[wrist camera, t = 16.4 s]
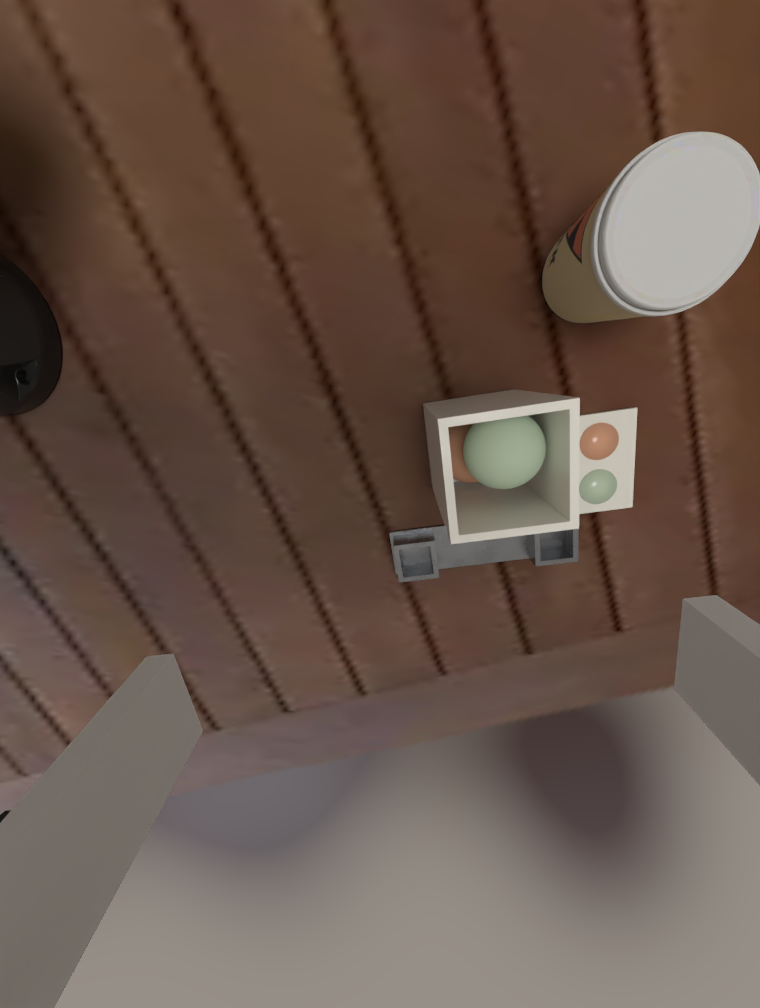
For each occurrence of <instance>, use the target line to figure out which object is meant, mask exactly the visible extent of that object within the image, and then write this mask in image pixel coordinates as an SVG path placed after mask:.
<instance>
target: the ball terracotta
mask: <svg viewBox="0 0 760 1008" xmlns="http://www.w3.org/2000/svg"><path fill="white" fill-rule="evenodd" d="M473 424H474V423H473ZM473 424H467V425H460V426H453V427H448V431H449V441H450V451H451V461H452V472H453V479H455V480H458V481H461V482H465V483H475V482H479V481H477V480H476V479H475V478H474V477H473V476H472V475H471V474H470V472H469V471H468V469H467V467H466V464H465V461H464V457H463V445H464V441H465V438H466V435H467V433H468V431H469V429H470V428H471V427H472V425H473Z"/></svg>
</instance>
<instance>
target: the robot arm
mask: <svg viewBox="0 0 760 1008" xmlns="http://www.w3.org/2000/svg"><path fill="white" fill-rule="evenodd" d="M60 367H61V344H60V338H59V333H58V330H57V326H56V323H55V320H54V318H53V316H52V313H51V311H50V309H49V307H48V305H47V303H46V302H45V300H44V298H43V297H42V295H41V294H40V292H39V291H38V290H37V288H36V287H35V286H34V284H33V283H32V282H31V281H30V280H29V279H28V278H27V277H26V276H25V275H24V274H23V273H22V272H21V271H20V270H19V269H18V268H17V267H16V266H14V265H13V264H12V263H11V262H9V261H8V260H6V259H5V258H3V257H2V256H0V416H5V415H14V414H20V413H23V412H27V411H29V410H31V409H33V408H35V407H37V406H38V405H40V404H41V403H42V402H43V401H44V400H45V399H46V398H47V397H48V396H49V395H50V393H51V392H52V390H53V388H54V386H55V384H56V382H57V379H58V376H59V372H60ZM674 689H675V690H676V692H677V693H678V694H679V695H680V696H681V697H682V698H683V699H684V701H685V702H686V703H687V704H688V705H689V706H690V707H691V708H692V709H693V711H694V712H695V713H696V714H697V715H698V716H699V717H700V718H701V720H702V721H703V722H704V723H705V724H706V725H707V726H708V728H709V729H710V730H711V731H712V732H713V733H714V734H715V735H716V737H717V738H718V739H719V740H720V741H721V742H722V743H723V744H724V746H725V747H726V748H727V749H728V750H729V751H730V752H731V753H732V755H733V756H734V757H735V758H736V759H737V760H738V761H739V762H740V763H741V765H742V766H743V767H744V768H745V769H746V770H747V771H748V773H749V774H750V775H751V776H752V777H753V778H754V779H755V781H756V782H757V783H758V784H759V785H760V625H759V624H758V623H756V622H755V621H753V620H752V619H750V618H749V617H748V616H746V615H745V614H743V613H742V612H740V611H739V610H737V609H736V608H734V607H733V606H732V605H730V604H729V603H727V602H726V601H724V600H723V599H721V598H720V597H718V596H717V595H713V596H704V597H695V598H685V599H683V605H682V615H681V624H680V634H679V644H678V654H677V664H676V674H675V684H674ZM202 732H203V730H202V727H201V724H200V722H199V719H198V717H197V714H196V711H195V709H194V706H193V704H192V701H191V698H190V696H189V693H188V691H187V688H186V685H185V683H184V680H183V678H182V675H181V672H180V670H179V667H178V664H177V662H176V659H175V657H174V654H164V655H155V656H147V657H146V658H145V659H144V660H143V661H142V662H141V664H140V665H139V666H138V667H137V668H136V669H135V670H134V671H133V673H132V674H131V675H130V676H129V677H128V678H127V679H126V681H125V682H124V683H123V684H122V685H121V686H120V687H119V689H118V690H117V691H116V692H115V693H114V694H113V695H112V696H111V698H110V699H109V700H108V701H107V702H106V703H105V704H104V706H103V707H102V708H101V709H100V710H99V711H98V712H97V714H96V715H95V716H94V717H93V718H92V719H91V720H90V721H89V723H88V724H87V725H86V726H85V727H84V728H83V729H82V731H81V732H80V733H79V734H78V735H77V736H76V737H75V739H74V740H73V741H72V742H71V743H70V744H69V745H68V746H67V748H66V749H65V750H64V751H63V752H62V753H61V754H60V756H59V757H58V758H57V759H56V760H55V761H54V762H53V764H52V765H51V766H50V767H49V768H48V769H47V770H46V771H45V773H44V774H43V775H42V776H41V777H40V778H39V779H38V781H37V782H36V783H35V784H34V785H33V786H32V787H31V789H30V790H29V791H28V792H27V793H26V794H25V795H24V796H23V798H22V799H21V800H20V801H19V802H18V803H17V804H16V806H15V807H14V808H13V809H12V810H10V811H5V812H3V813H2V814H1V815H0V1008H54V1007H55V1005H56V1003H57V1001H58V999H59V998H60V996H61V994H62V992H63V990H64V988H65V987H66V985H67V982H68V981H69V979H70V977H71V975H72V973H73V972H74V970H75V968H76V966H77V964H78V962H79V960H80V959H81V957H82V955H83V953H84V951H85V949H86V947H87V946H88V944H89V942H90V940H91V938H92V936H93V934H94V932H95V931H96V929H97V927H98V925H99V923H100V921H101V920H102V918H103V916H104V914H105V912H106V910H107V908H108V906H109V905H110V903H111V901H112V899H113V897H114V895H115V894H116V892H117V890H118V888H119V886H120V884H121V882H122V881H123V879H124V877H125V875H126V873H127V871H128V869H129V867H130V866H131V864H132V862H133V860H134V858H135V856H136V855H137V853H138V851H139V849H140V847H141V845H142V843H143V842H144V840H145V838H146V836H147V834H148V832H149V830H150V829H151V827H152V825H153V823H154V821H155V819H156V817H157V815H158V814H159V812H160V810H161V808H162V806H163V804H164V802H165V801H166V799H167V797H168V795H169V793H170V791H171V790H172V788H173V786H174V784H175V782H176V780H177V778H178V777H179V775H180V773H181V771H182V769H183V767H184V765H185V764H186V762H187V760H188V758H189V756H190V754H191V752H192V750H193V749H194V747H195V745H196V743H197V741H198V739H199V737H200V736H201V734H202Z"/></svg>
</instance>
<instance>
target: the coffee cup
mask: <svg viewBox="0 0 760 1008" xmlns="http://www.w3.org/2000/svg"><path fill="white" fill-rule="evenodd" d="M759 225H760V174H759V171H758V169H757V167H756V164H755V162H754V161H753V159H752V157H751V156H750V154H749V153H748V152H747V151H746V150H745V149H744V148H743V147H742V146H741V145H740V144H739V143H737V142H736V141H734V140H733V139H731V138H729V137H727V136H724V135H721V134H718V133H712V132H688V133H681V134H677V135H673V136H670V137H668V138H665V139H663V140H661V141H659V142H657V143H655V144H653V145H651V146H650V147H648V148H647V149H645V150H644V151H642V152H641V153H640V154H638V155H637V156H636V157H635V158H634V159H633V160H631V161H630V162H629V163H628V164H627V165H626V166H625V167H624V169H623V170H622V171H621V172H620V173H619V174H618V175H617V177H616V178H615V179H614V181H613V182H612V183H611V185H610V186H609V187H608V188H607V189H606V190H605V191H604V192H603V193H602V194H601V195H600V196H599V197H598V198H597V199H596V200H595V202H594V203H593V204H592V205H591V206H590V207H589V208H588V209H587V210H586V211H585V212H584V213H583V214H582V215H581V216H580V217H579V219H578V220H577V221H576V222H575V223H574V224H573V225H572V226H571V227H570V228H569V229H568V230H567V231H566V232H565V234H564V235H563V236H562V237H561V238H560V239H559V240H558V242H557V243H556V244H555V246H554V247H553V249H552V250H551V252H550V254H549V255H548V257H547V260H546V263H545V266H544V269H543V275H542V287H543V293H544V296H545V299H546V302H547V303H548V305H549V307H550V308H551V310H552V311H553V312H554V313H555V314H556V315H558V316H559V317H561V318H562V319H564V320H566V321H569V322H574V323H592V322H601V321H610V320H619V319H627V318H636V317H644V316H665V315H671V314H675V313H678V312H681V311H684V310H686V309H689V308H691V307H693V306H695V305H697V304H699V303H700V302H702V301H703V300H705V299H706V298H708V297H709V296H710V295H712V294H713V293H714V292H716V291H717V290H718V289H719V288H720V287H721V286H722V285H723V284H724V283H725V282H726V281H727V280H728V279H729V278H730V277H731V276H732V274H733V273H734V272H735V271H736V270H737V269H738V267H739V266H740V265H741V263H742V262H743V260H744V259H745V257H746V256H747V254H748V252H749V250H750V248H751V247H752V244H753V242H754V240H755V237H756V234H757V232H758V229H759Z"/></svg>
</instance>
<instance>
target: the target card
mask: <svg viewBox="0 0 760 1008" xmlns="http://www.w3.org/2000/svg"><path fill="white" fill-rule="evenodd" d="M636 426H637V408H636V407H631V408H625V409H618V410H611V411H604V412H597V413H591V414H584V415H580V450H579V514H583V513H591V512H598V511H606V510H614V509H622V508H630V507H632V506H633V486H634V466H635V446H636Z"/></svg>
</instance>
